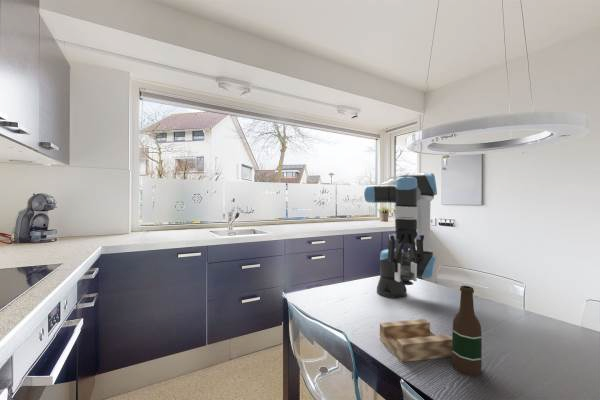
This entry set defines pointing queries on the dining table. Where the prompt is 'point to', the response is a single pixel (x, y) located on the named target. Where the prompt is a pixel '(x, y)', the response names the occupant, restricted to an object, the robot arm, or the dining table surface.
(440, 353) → the well block
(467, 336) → the beer bottle
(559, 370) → the dining table surface
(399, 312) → the dining table surface
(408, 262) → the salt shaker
